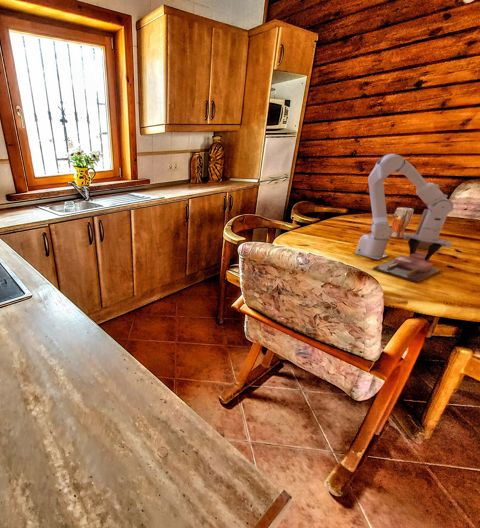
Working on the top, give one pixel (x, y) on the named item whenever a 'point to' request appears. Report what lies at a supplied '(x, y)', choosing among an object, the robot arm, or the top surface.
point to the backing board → (408, 268)
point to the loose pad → (418, 256)
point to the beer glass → (401, 221)
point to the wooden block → (422, 244)
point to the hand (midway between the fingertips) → (419, 258)
